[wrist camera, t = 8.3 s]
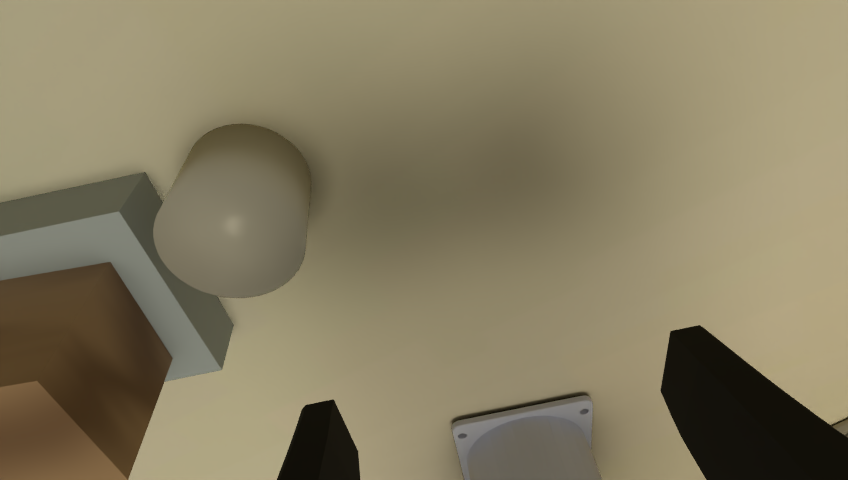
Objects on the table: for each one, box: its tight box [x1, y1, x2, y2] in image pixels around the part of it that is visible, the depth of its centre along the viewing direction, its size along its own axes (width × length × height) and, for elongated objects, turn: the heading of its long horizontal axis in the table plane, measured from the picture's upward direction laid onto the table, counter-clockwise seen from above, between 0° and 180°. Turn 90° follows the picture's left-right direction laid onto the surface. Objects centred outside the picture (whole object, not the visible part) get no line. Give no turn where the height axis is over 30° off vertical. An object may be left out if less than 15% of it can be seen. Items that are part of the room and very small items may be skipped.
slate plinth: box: [0, 172, 234, 382], centre depth 20 cm, size 8×8×3 cm
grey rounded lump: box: [153, 124, 311, 298], centre depth 17 cm, size 4×4×4 cm
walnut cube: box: [0, 262, 173, 480], centre depth 17 cm, size 5×5×5 cm
